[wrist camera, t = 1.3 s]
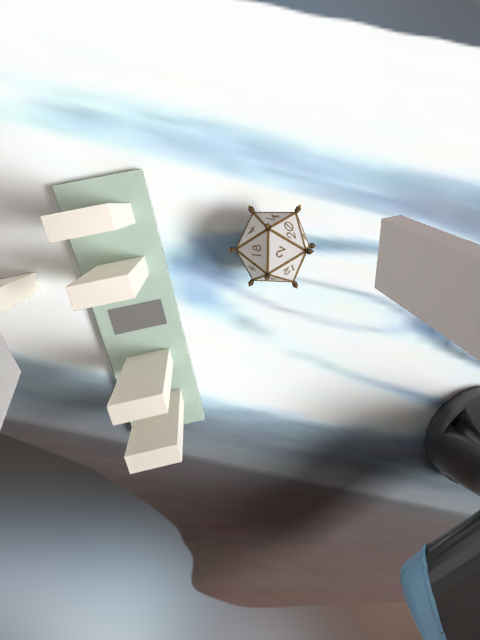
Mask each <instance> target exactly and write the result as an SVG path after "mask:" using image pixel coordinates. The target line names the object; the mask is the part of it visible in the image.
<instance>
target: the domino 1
mask: <svg viewBox="0 0 480 640" xmlns="http://www.w3.org/2000/svg"><path fill="white" fill-rule="evenodd" d="M40 290H41V289H40V286H39V283H38V281H37V278H36V275H35V273H29V274H24V275H19V276H14V277H9V278H4V279H0V313H2V312H4V311H6V310H7V309H9V308H11V307H13V306H14V305H16V304H18V303H20V302H21V301H23V300H25V299H26V298H28V297H30V296H32V295H33V294H35V293H37V292H39V291H40Z"/></svg>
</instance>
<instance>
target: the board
mask: <svg viewBox="0 0 480 640" xmlns="http://www.w3.org/2000/svg"><path fill="white" fill-rule="evenodd" d="M52 187H53V190H54V193H55V196H56V199H57V202H58V206H59V209H60V212H65V211H70V210H75V209H80V208H85V207H91V206H96V205H101V204H106V203H130V204H131V208H132V211H133V215H134V219H135V223H134V224H131V225H128V226H126V227H123V228H120V229H117V230H113V231H108V232H103V233H98V234H93V235H88V236H83V237H78V238H73V239H70V242H71V245H72V248H73V251H74V254H75V257H76V260H77V263H78V266H79V269H80V272H81V275H82V276H83V275H84V274H86V273H87V272H89V271H90V270H92V269H93V268H95V267H96V266H98V265H102V264H107V263H112V262H117V261H122V260H127V259H131V258H136V257H141V256H145V260H146V263H147V267H148V271H149V275H148V277H147V279H146V280H145V282H144V284H143V285H142V287H141V289H140V290H139V292H138V294H137V295H136V297H135V298H133V299H129V300H124V301H119V302H114V303H110V304H105V305H100V306H95V307H92V308H93V311H94V314H95V317H96V320H97V324H98V327H99V330H100V333H101V336H102V339H103V342H104V345H105V348H106V351H107V354H108V357H109V360H110V363H111V366H112V369H113V372H114V375H115V378H116V381H117V380H118V378H119V375H120V373H121V371H122V368H123V366H124V363H125V361H126V359H127V357H131V356H135V355H140V354H144V353H149V352H154V351H158V350H163V349H167V348H169V349H170V353H171V356H172V360H173V371H172V380H171V390H170V391H172V390H177V389H180V390H181V393H182V397H183V401H184V419H183V424H188V423H192V422H196V421H200V420H205V414H204V410H203V406H202V402H201V398H200V394H199V390H198V387H197V383H196V379H195V375H194V371H193V367H192V363H191V359H190V355H189V351H188V347H187V343H186V339H185V335H184V331H183V327H182V323H181V319H180V315H179V311H178V307H177V303H176V299H175V295H174V291H173V287H172V283H171V279H170V275H169V271H168V267H167V263H166V259H165V255H164V251H163V247H162V243H161V240H160V236H159V232H158V228H157V224H156V220H155V216H154V212H153V208H152V204H151V200H150V196H149V192H148V188H147V184H146V180H145V176H144V172H143V169H139V170H133V171H128V172H123V173H117V174H112V175H107V176H102V177H96V178H91V179H86V180H80V181H75V182H70V183H64V184H59V185H54V186H52ZM133 422H134V421H131V422H130V423H131V426H132V425H133Z"/></svg>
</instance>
